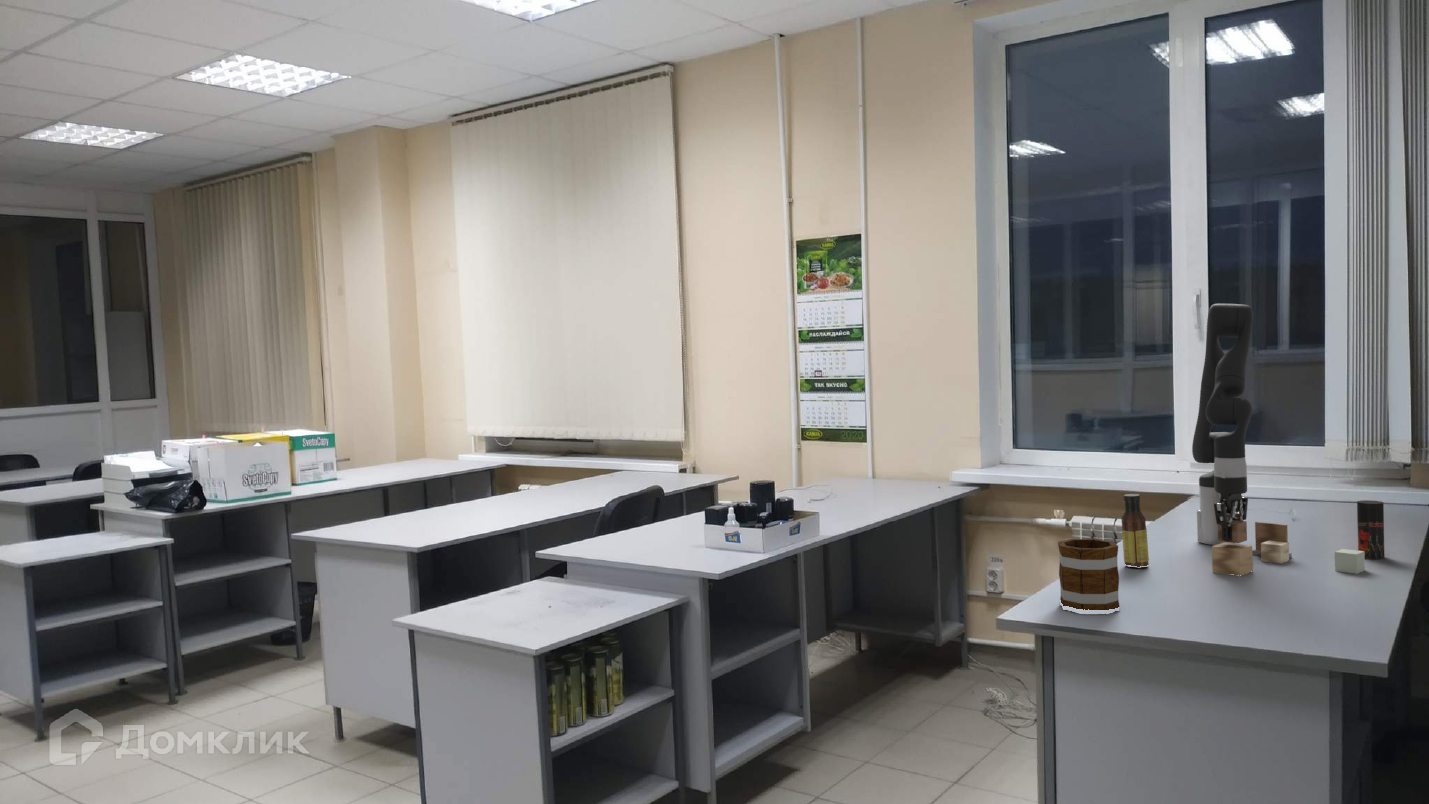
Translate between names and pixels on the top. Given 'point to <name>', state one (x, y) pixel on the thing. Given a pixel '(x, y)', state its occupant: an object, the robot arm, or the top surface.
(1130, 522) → the sauce bottle
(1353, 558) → the sage painted cube
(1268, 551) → the birch cube
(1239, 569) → the oak base block
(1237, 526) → the walnut cube
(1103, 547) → the mug
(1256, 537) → the walnut card
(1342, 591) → the top surface
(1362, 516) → the deodorant
